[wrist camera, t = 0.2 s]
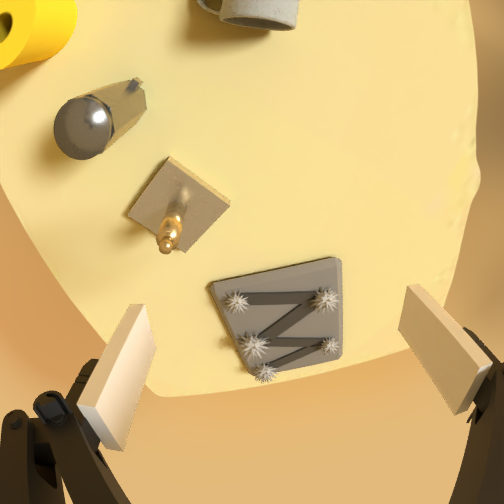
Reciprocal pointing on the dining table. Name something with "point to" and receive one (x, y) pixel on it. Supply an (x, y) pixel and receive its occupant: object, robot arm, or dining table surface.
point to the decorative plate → (284, 316)
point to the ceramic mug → (258, 13)
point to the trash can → (98, 118)
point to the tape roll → (34, 29)
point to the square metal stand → (178, 207)
